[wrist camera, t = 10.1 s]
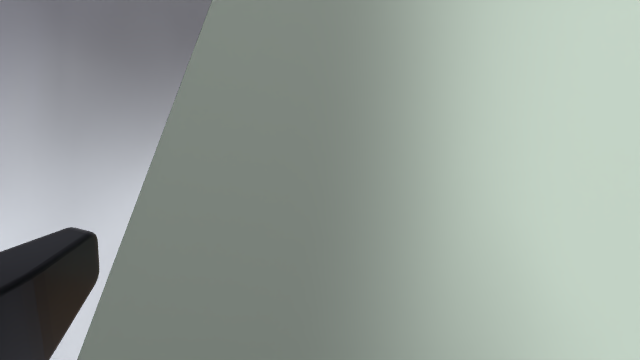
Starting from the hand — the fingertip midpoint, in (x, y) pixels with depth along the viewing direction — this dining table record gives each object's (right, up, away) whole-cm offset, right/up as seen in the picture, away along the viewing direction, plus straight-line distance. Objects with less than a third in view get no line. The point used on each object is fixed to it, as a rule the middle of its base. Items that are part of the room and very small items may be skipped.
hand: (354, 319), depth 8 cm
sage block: (0, -1, +8) cm, 8 cm away
